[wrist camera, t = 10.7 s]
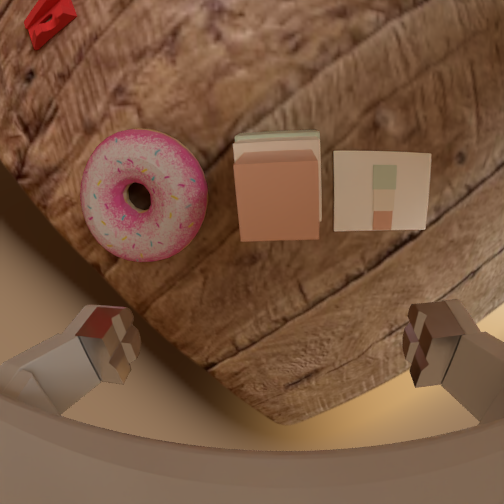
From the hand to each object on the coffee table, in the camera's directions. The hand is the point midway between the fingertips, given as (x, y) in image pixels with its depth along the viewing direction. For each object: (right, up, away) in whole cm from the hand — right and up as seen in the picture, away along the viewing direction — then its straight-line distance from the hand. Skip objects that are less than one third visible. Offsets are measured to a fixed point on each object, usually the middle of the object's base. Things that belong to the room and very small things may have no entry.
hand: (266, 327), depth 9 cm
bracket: (-23, +29, +15) cm, 40 cm away
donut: (-11, +9, +23) cm, 27 cm away
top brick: (+2, +7, +15) cm, 17 cm away
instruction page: (+12, +8, +20) cm, 25 cm away
